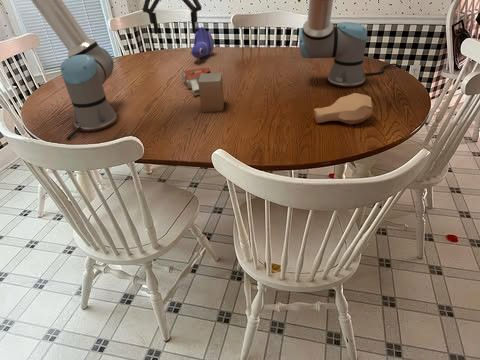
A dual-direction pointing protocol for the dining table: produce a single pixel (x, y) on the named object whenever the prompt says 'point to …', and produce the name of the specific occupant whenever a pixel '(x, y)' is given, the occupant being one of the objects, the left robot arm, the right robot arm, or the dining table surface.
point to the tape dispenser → (193, 78)
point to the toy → (202, 43)
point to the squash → (346, 109)
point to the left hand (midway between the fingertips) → (175, 32)
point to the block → (211, 92)
